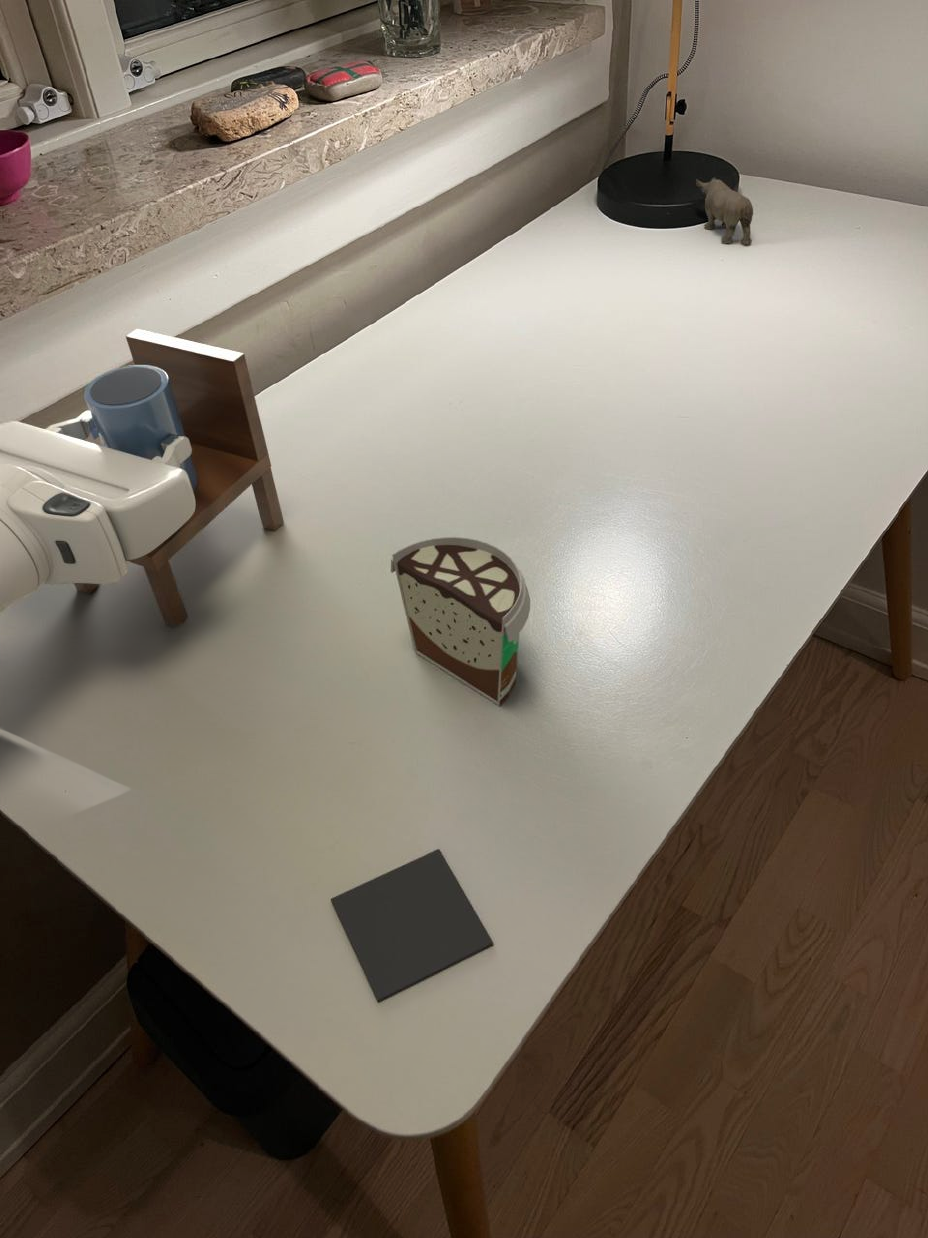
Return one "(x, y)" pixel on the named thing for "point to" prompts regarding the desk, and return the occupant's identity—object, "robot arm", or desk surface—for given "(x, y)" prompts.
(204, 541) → the desk surface
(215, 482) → the miniature wooden chair
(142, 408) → the cup
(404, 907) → the mat
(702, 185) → the rhino figurine
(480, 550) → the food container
